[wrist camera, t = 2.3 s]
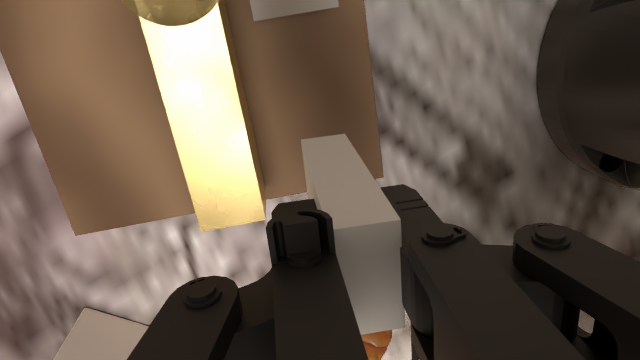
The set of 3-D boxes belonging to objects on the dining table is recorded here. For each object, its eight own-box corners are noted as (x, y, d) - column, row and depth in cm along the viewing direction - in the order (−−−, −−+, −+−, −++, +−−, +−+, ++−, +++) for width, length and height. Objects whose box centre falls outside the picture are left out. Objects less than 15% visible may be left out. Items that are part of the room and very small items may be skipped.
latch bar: (119, -77, 20) (86, -96, 16) (221, -93, 20) (211, -115, 16) (197, 200, 24) (185, 235, 21) (278, 184, 25) (280, 216, 21)
